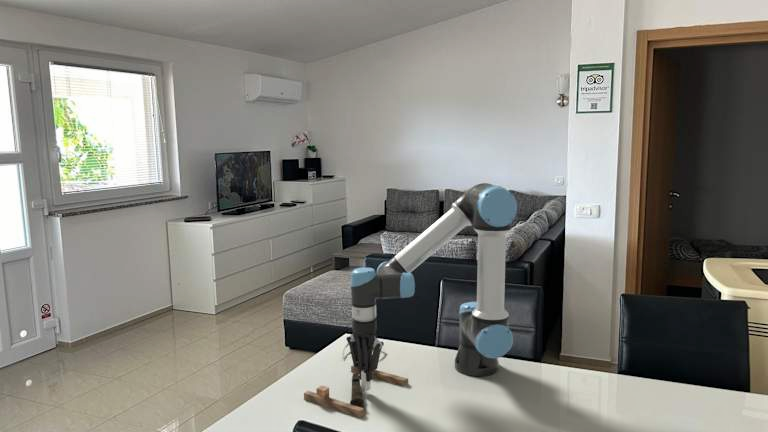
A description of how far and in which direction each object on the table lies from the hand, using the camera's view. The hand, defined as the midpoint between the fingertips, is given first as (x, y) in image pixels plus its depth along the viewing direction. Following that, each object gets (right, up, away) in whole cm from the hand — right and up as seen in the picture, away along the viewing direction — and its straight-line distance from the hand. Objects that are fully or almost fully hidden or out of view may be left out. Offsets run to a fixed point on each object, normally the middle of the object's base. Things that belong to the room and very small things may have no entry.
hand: (366, 389), depth 180 cm
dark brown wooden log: (-4, -2, -1) cm, 4 cm away
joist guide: (-3, -1, +2) cm, 4 cm away
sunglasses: (-2, +3, +32) cm, 33 cm away
